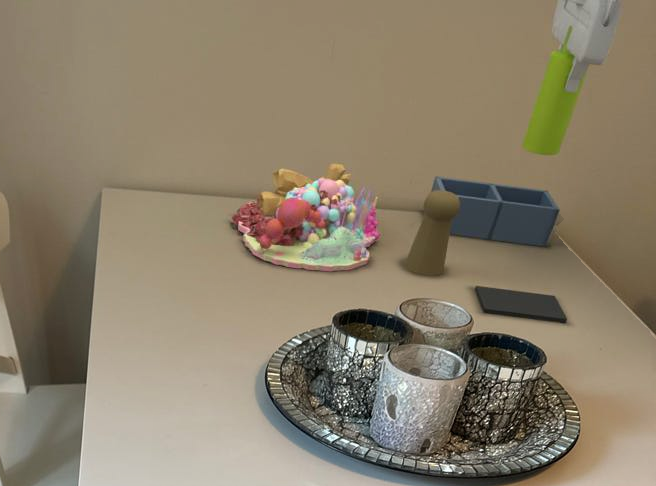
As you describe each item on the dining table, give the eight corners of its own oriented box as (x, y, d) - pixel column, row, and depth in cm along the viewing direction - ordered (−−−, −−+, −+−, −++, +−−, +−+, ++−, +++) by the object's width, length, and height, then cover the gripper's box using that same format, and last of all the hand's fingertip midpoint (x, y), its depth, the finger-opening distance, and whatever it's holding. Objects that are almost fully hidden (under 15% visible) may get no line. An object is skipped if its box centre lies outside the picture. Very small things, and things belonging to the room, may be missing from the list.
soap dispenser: (550, 159, 144) (602, 8, 129) (514, 145, 147) (561, -3, 133) (571, 154, 146) (624, 5, 132) (535, 140, 150) (583, -6, 136)
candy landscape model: (214, 208, 151) (222, 148, 144) (344, 209, 157) (357, 150, 150) (264, 272, 134) (275, 207, 127) (407, 270, 140) (425, 207, 133)
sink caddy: (534, 226, 159) (547, 190, 155) (546, 246, 153) (559, 209, 149) (425, 212, 159) (435, 176, 155) (431, 232, 153) (442, 194, 148)
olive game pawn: (421, 256, 144) (441, 183, 137) (451, 271, 141) (474, 196, 133) (396, 263, 141) (416, 189, 133) (426, 278, 138) (448, 203, 130)
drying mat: (553, 299, 137) (554, 295, 137) (565, 323, 131) (567, 319, 131) (474, 289, 137) (475, 285, 137) (483, 312, 131) (484, 308, 131)
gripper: (643, -10, 123) (601, 105, 133) (604, -33, 138) (569, 71, 148) (597, -15, 123) (558, 100, 133) (562, -38, 138) (530, 67, 148)
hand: (563, 85), depth 141 cm, fingers closed on soap dispenser, 6 cm apart
